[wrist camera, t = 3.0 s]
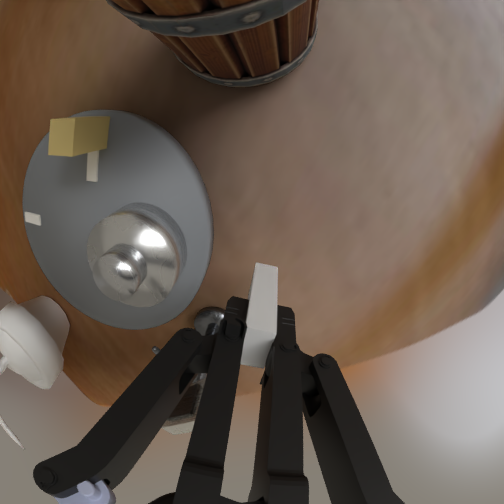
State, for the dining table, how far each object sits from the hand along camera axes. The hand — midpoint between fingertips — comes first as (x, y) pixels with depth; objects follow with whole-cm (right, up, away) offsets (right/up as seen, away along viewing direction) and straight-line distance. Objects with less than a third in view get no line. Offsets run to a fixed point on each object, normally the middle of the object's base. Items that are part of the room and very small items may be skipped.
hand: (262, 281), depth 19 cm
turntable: (-14, +4, +3) cm, 15 cm away
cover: (-9, +2, +1) cm, 9 cm away
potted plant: (-28, -7, +12) cm, 32 cm away
